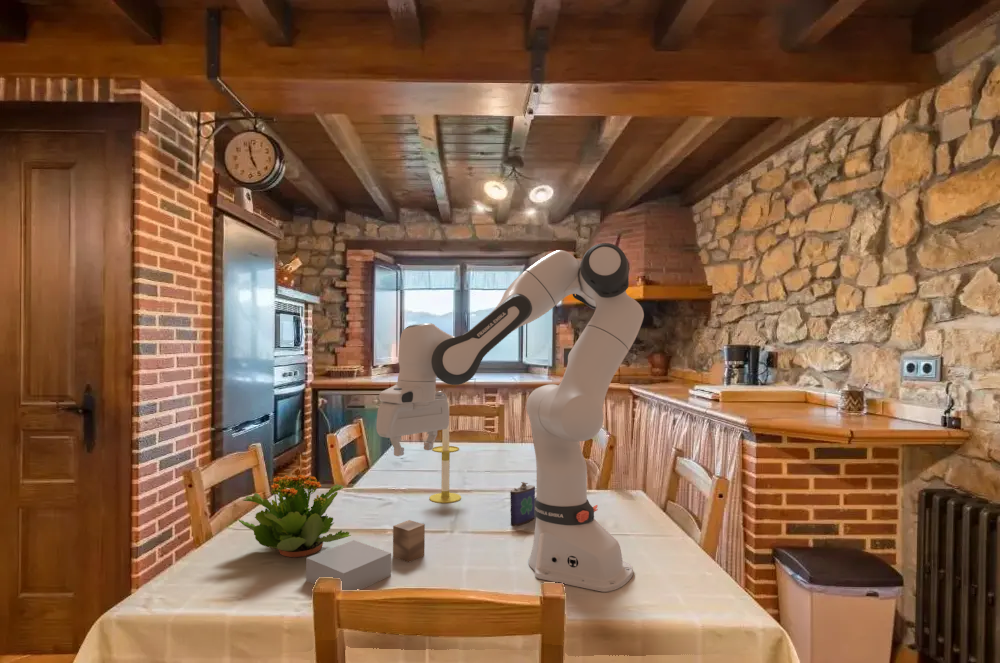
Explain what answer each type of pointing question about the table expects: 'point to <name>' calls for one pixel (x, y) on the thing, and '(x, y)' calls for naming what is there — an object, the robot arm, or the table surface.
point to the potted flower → (294, 517)
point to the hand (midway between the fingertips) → (414, 452)
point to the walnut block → (408, 540)
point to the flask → (522, 504)
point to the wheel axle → (445, 470)
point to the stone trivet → (350, 565)
